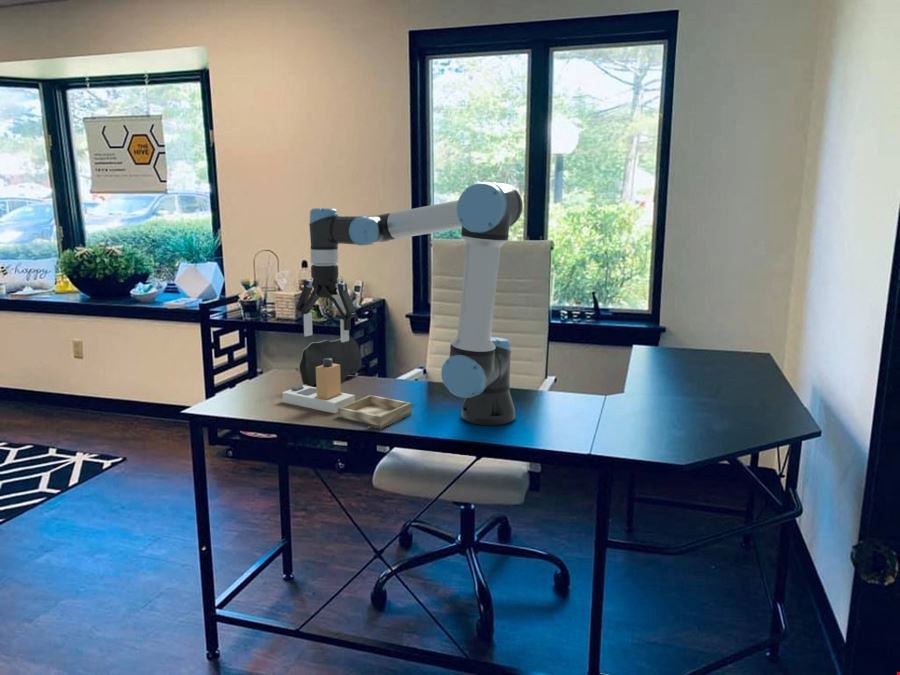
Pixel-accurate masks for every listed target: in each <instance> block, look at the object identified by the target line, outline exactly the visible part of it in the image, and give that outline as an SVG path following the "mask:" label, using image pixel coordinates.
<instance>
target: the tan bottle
mask: <svg viewBox="0 0 900 675" xmlns="http://www.w3.org/2000/svg"><path fill="white" fill-rule="evenodd" d="M315 385H316V386H315V387H316V391H317V398H318V399H323V400H330V399H333V398H335V397H338V396H340V395H341V393H342V390H341V389H342V387H341V386H342V383H341V380H340V365H339V364H333V363H332V358H325V359H323V365H321V366H318V367H316V384H315Z"/></svg>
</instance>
